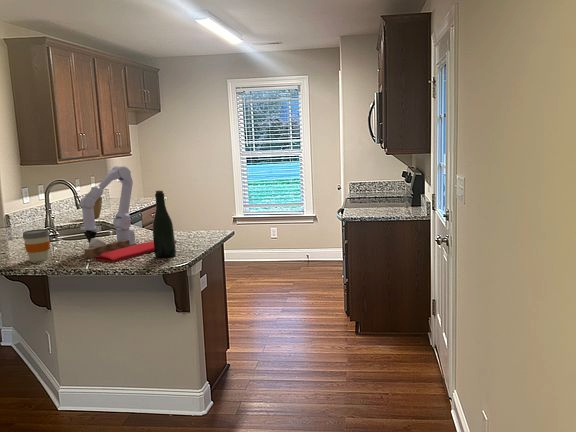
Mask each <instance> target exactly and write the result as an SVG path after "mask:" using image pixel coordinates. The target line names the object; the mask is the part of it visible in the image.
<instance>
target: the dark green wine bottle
mask: <svg viewBox="0 0 576 432" xmlns="http://www.w3.org/2000/svg"><path fill="white" fill-rule="evenodd" d="M154 198H155V212H154V216H153V220H152V240H153V242H154V251H153V252H154V256H155V258H157V259H165V258H166V259H167V258H172V257H175V256H176V254H177V250H176V244H175V241H176V240H175V232H174V230H175V229H174V226H173V221H172V218H171V217H170V214H169V213H168V210H167V206H166V201H165V200H166V199H165V193H164V191H163V189H161V190H159V189H158V190H155V194H154Z"/></svg>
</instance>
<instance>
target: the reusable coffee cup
mask: <svg viewBox="0 0 576 432" xmlns="http://www.w3.org/2000/svg"><path fill="white" fill-rule="evenodd" d="M22 239H23V240H24V247H25V250H26V253H27V256H28V259H29V262H30V263H31V262H32V263H36V262H37V263H39V262H44V261H48V260H49V259H50V249H51V247H50V244H51V242H50V241H51V240H50V231H49V229H47V228H41V229H40V228H38V229H30V230H25V231H23V232H22ZM47 259H48V260H47ZM38 261H39V262H38Z"/></svg>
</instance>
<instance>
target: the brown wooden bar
mask: <svg viewBox="0 0 576 432" xmlns="http://www.w3.org/2000/svg"><path fill="white" fill-rule="evenodd" d="M129 246H131V245H130V242H129V240H122V241H118V242H117V241H115V242H111V243H106V245H101V246H97V247H93V248H89V247H88V248H86V249H84V258H85V259H87V258H88V259H87V260H89V258H90V259H94V258H95V257H96V256H100V254H102V253H105V252H109V251H113V250H117V249H121V248H125V247H129ZM93 257H94V258H93Z"/></svg>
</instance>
